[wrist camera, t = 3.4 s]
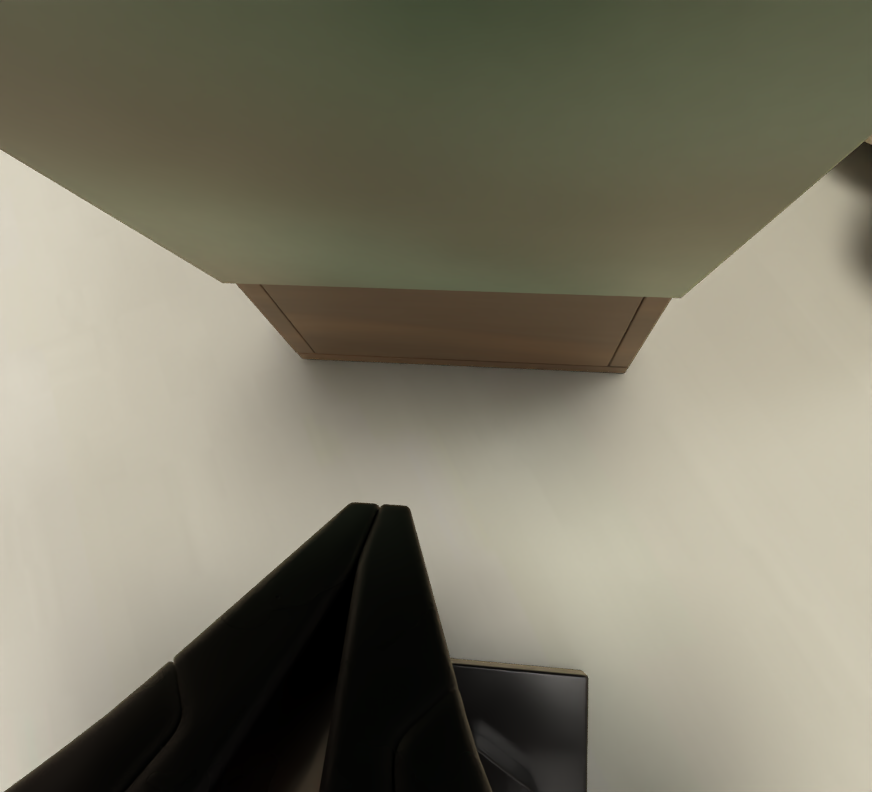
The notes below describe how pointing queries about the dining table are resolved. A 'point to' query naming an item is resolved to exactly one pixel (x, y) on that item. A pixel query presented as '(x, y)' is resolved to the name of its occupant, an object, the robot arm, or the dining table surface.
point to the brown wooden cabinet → (460, 326)
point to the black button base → (527, 724)
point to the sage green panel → (439, 132)
